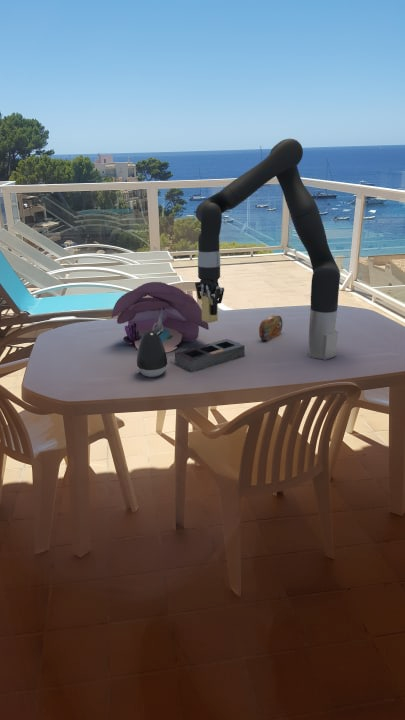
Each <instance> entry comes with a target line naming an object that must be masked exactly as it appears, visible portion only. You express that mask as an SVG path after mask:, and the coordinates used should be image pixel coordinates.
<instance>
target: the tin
mask: <svg viewBox="0 0 405 720" xmlns="http://www.w3.org/2000/svg"><path fill="white" fill-rule="evenodd" d="M282 330H283V318H282V317H281V316H280V315H275V314H274V315H270V317H267V318H265V319H263V320H261V322H260V325H259V327H258V332H259V334H258V335H259V338H260V339H261V340H262V341H267V342H269V341H271V340H273V339H274V338H276V337H278V336H279V335H280V334H281V333H282Z"/></svg>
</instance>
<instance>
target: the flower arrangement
mask: <svg viewBox="0 0 405 720" xmlns="http://www.w3.org/2000/svg"><path fill="white" fill-rule="evenodd" d="M116 316H118V317H117V319H116V323H117V324H118V325H121V324H125V323H127V325H125V326H124V331H125V334H126V336H124V337H123V338H122V339H123V341H124V342H125V343H127V344H129V345H132V344H134V345H135V347H136V349H137V350H138V348H139V344H140V341H141V338H142V336H143V335H144V333H146V332H148V331H154V332H156V333H157V332H159V331H160V330H162V331H163V332H162V334H161V335H160V336H159V337H160V339H161V341H162V343H163V345H164V348H165V352H166V353H169V352H172V351H175V350H176V349H178V346H177V345H179V344H180V343H181V342H182V341H183V342H187V343H190V342H194V341H196V340H198V337H199V333H200V327H201V328H203V329H205V330H209V329H210V328H209V323H207V322H205V321H202V307H201V306H200V305H199V303H198V302H197V300H196V299H195V298H194V296H192V295H191V294H190V293H186V292H185V291H183V290H182V289H181V288H179V287H177V286H174V285H169V284H167V283H165V282H162V281H151V282H146V283H143V284H141V285H139V286H137V287H136V288H134V289H133V290H130V291H128V292H126V293H124V294H122V296H120V297H119V298H118V299H117V300H116V302H115V304H114V306H113V309H112V312H111V318H110V319H113V318H114V317H116Z"/></svg>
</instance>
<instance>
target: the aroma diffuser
mask: <svg viewBox="0 0 405 720" xmlns="http://www.w3.org/2000/svg"><path fill="white" fill-rule="evenodd" d="M162 332H163V331H162V330H160V331H159V332H157V333H156V332H154V331H148V332H146V333H144V335H143V336H142V338H141V341H140V344H139V348H138V349H137V354H136V367H137V368H138V370H139V372H140V373H141V374H142V375H143V376H146V377H149V378H155V377H159V376H161V375H162V374H164V372H165V371H166V368H167V365H168V357H167V356H168V355H167V352H165V348H164V345H163V343H162V341H161V339H160V337H159V336H160V335H161V334H162Z"/></svg>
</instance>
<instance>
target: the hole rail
mask: <svg viewBox="0 0 405 720" xmlns="http://www.w3.org/2000/svg"><path fill="white" fill-rule="evenodd" d="M245 346H246V345H243V344H242V343H240V342H236V341H234V340H231V339H228V338H225V339H220V340H218V341H214V342H213V341H212V342H211V343H206V344H203V345H199V346H196V347H192V348H188V349H185V350H181V351H178V352H174V363H175V365H178V367H181V368H182V369H184V370H187V371H188V372H190V373H193V372H195V371H199V370H203V369H206V368H209V367H213V366H216V365H219V364H222V363H226V362H229V361H232V360H235V359H238V358H242V357H245V353H246V352H245V349H246V348H245Z"/></svg>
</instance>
